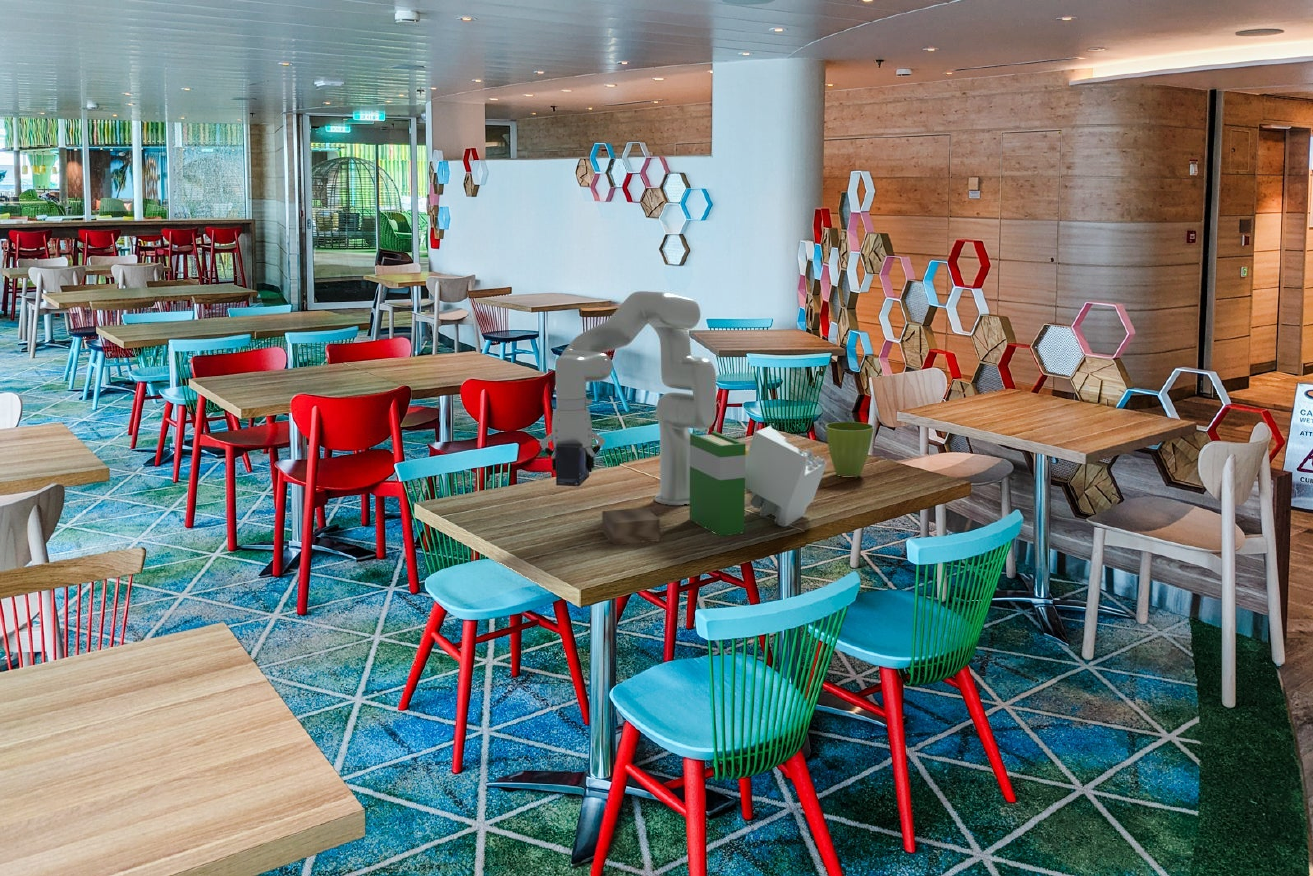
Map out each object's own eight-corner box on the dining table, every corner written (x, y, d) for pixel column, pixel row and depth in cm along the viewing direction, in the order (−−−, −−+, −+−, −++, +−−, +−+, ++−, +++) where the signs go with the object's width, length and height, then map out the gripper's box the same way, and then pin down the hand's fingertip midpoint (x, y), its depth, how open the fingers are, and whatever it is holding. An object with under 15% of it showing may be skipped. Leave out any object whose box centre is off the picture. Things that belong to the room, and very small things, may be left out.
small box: (580, 487, 290) (579, 446, 288) (555, 486, 292) (554, 445, 289) (590, 476, 301) (589, 437, 298) (566, 475, 302) (565, 436, 300)
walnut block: (646, 529, 309) (645, 507, 307) (659, 541, 297) (659, 519, 296) (602, 533, 305) (602, 511, 304) (614, 545, 294) (614, 523, 293)
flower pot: (823, 480, 361) (824, 429, 358) (824, 469, 375) (826, 420, 372) (872, 481, 358) (874, 431, 355) (871, 470, 373) (873, 422, 370)
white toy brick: (758, 496, 331) (787, 418, 321) (806, 521, 324) (837, 443, 315) (725, 513, 314) (754, 431, 304) (775, 540, 307) (806, 458, 298)
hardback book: (689, 519, 317) (690, 433, 312) (713, 516, 320) (714, 431, 315) (719, 536, 301) (720, 446, 296) (744, 532, 304) (745, 443, 299)
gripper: (604, 400, 297) (605, 466, 300) (535, 403, 294) (538, 470, 298) (607, 405, 289) (608, 473, 293) (537, 408, 287) (539, 477, 291)
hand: (573, 471), depth 296 cm, fingers closed on small box, 8 cm apart
